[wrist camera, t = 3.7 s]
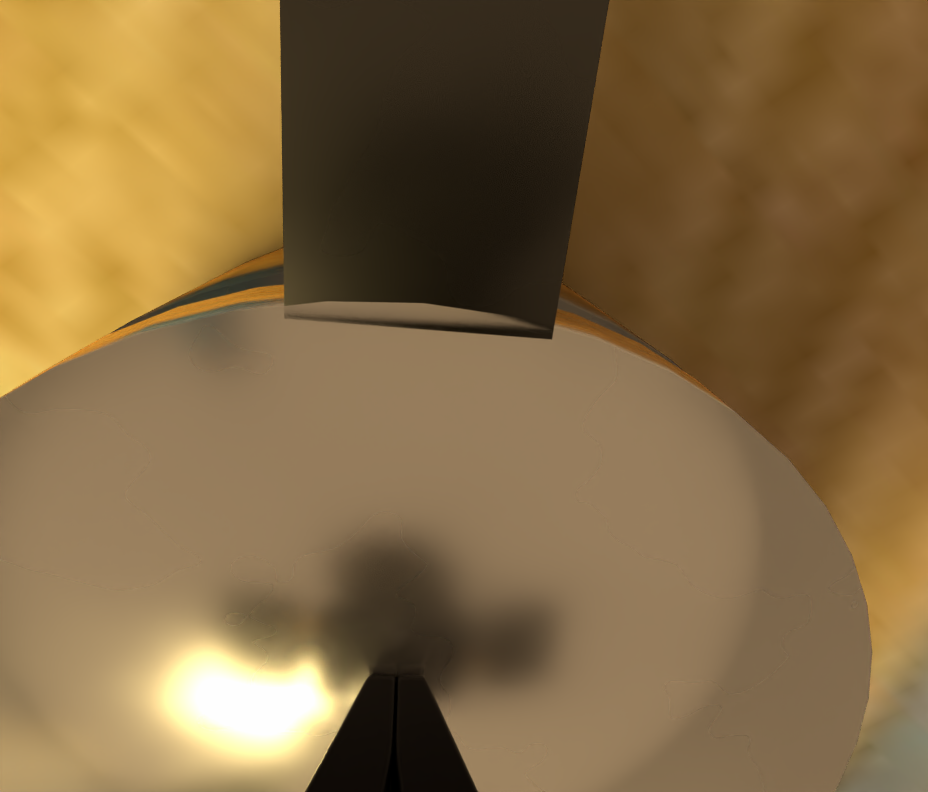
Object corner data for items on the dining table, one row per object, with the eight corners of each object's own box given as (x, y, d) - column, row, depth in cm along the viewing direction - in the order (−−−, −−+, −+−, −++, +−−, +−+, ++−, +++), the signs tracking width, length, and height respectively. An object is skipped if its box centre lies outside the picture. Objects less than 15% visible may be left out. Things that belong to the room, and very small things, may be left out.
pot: (126, 730, 19) (3, 970, 13) (25, -62, 11) (-345, -289, 6) (616, 732, 20) (693, 944, 15) (789, 46, 13) (1066, -50, 8)
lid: (-1, 976, 13) (-40, 1054, 12) (-415, -150, 5) (-626, -226, 4) (695, 948, 15) (718, 1014, 13) (1096, 69, 7) (1219, 56, 6)
